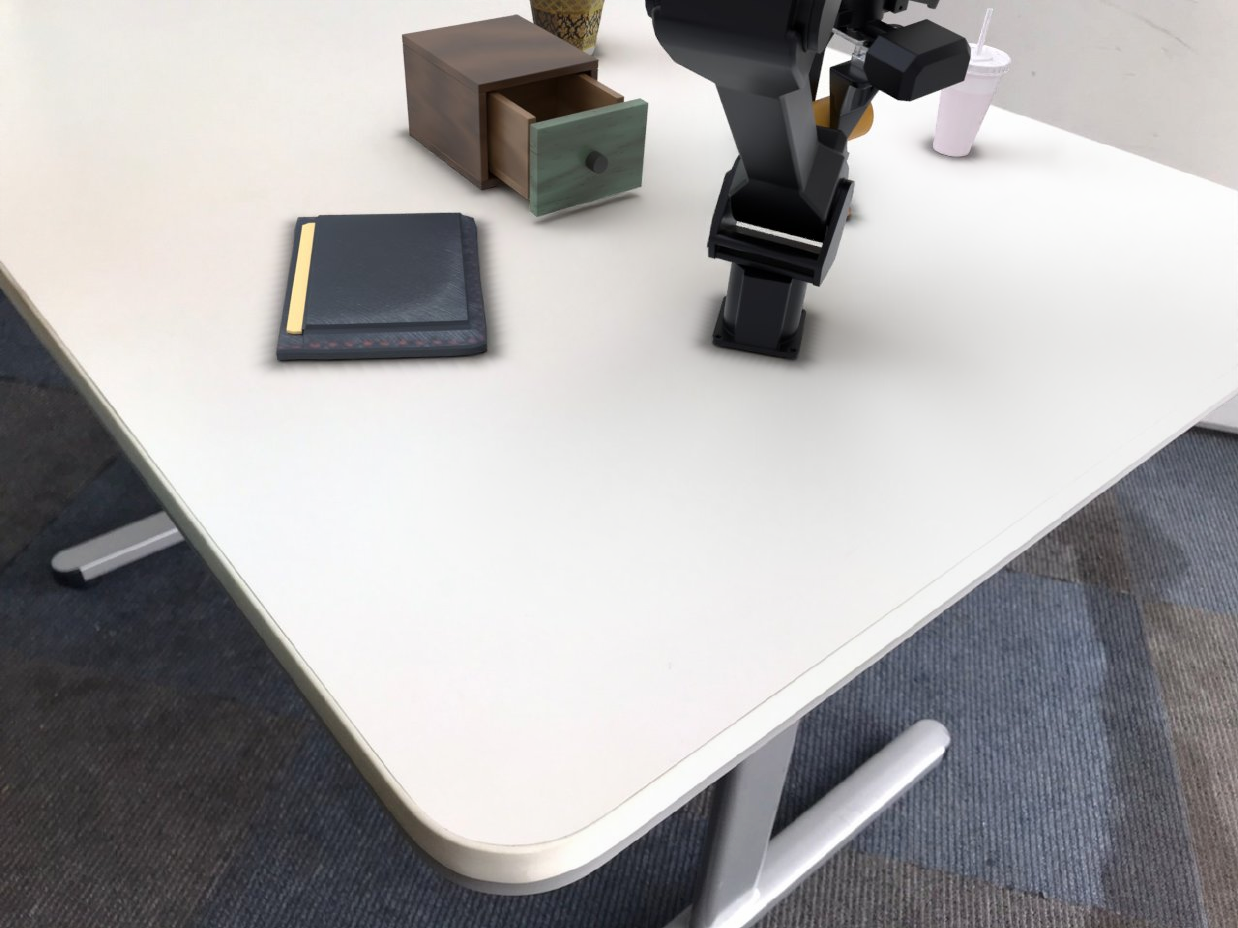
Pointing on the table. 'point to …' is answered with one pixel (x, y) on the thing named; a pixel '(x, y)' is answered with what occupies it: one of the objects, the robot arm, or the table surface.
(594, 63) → the cabinet
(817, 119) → the tube
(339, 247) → the wallet
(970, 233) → the table surface
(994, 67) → the smoothie
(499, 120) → the drawer
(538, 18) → the ceramic cup
